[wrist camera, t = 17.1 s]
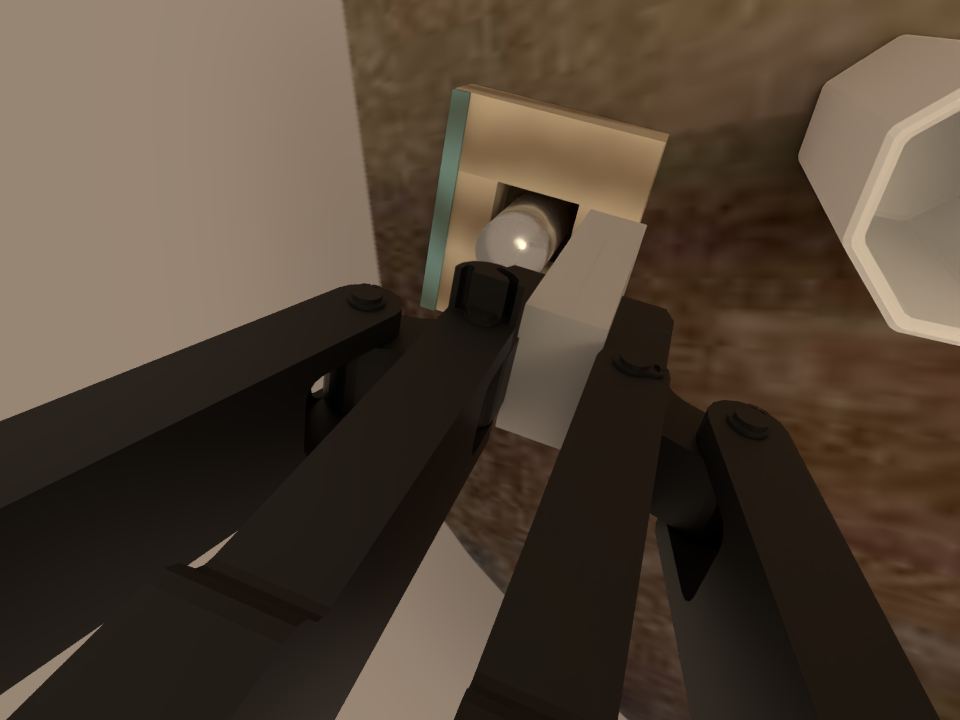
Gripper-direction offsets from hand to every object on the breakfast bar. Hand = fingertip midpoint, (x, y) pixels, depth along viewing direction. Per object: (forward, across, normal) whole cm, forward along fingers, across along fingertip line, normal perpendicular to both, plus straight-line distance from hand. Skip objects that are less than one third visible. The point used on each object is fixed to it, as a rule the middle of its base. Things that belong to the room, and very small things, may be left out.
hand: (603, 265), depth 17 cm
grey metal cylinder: (+29, -7, -9) cm, 32 cm away
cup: (+30, +13, +2) cm, 32 cm away
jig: (+29, -7, -9) cm, 32 cm away
